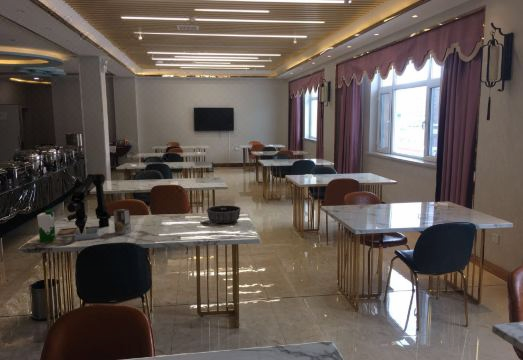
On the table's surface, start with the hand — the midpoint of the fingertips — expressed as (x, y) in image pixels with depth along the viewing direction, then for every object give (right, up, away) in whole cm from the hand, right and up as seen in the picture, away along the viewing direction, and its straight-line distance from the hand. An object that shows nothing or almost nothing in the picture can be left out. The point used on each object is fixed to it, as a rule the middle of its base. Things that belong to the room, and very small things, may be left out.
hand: (82, 231), depth 294 cm
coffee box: (+24, -2, +11) cm, 26 cm away
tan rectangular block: (0, -3, +1) cm, 3 cm away
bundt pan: (+92, +3, +42) cm, 101 cm away
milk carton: (-19, -5, -7) cm, 21 cm away
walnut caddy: (-11, -2, +14) cm, 18 cm away
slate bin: (+3, -3, +1) cm, 5 cm away
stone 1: (-7, -1, +15) cm, 16 cm away
